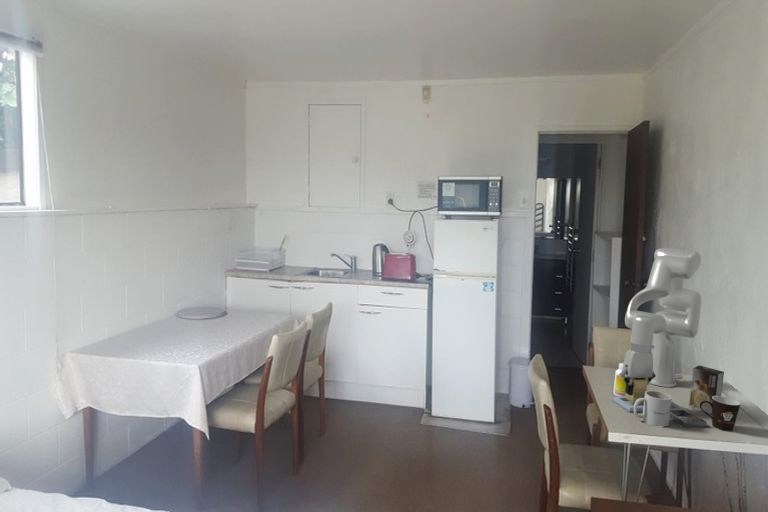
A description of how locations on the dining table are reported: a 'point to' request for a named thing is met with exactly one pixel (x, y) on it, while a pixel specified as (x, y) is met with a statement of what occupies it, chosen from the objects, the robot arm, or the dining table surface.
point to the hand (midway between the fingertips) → (635, 393)
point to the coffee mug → (723, 412)
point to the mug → (655, 408)
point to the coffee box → (705, 387)
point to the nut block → (637, 390)
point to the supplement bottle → (619, 383)
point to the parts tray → (627, 404)
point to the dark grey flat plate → (689, 418)
